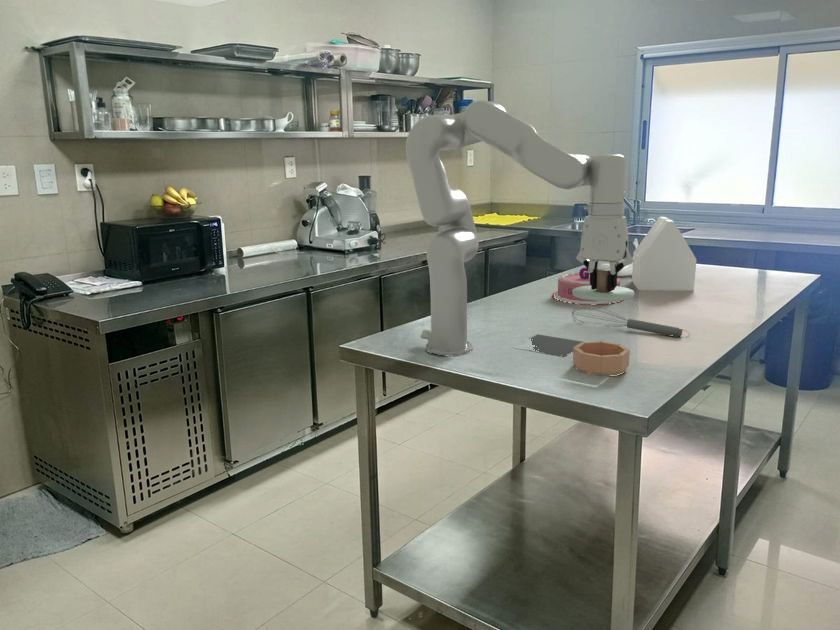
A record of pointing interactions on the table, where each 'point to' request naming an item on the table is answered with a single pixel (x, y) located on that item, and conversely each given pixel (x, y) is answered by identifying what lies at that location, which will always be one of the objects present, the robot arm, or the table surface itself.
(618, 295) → the lid
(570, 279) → the cake
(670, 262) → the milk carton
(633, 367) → the table surface
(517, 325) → the table surface
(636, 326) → the kitchen whisk
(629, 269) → the white curved piece
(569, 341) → the mat
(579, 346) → the bowl
